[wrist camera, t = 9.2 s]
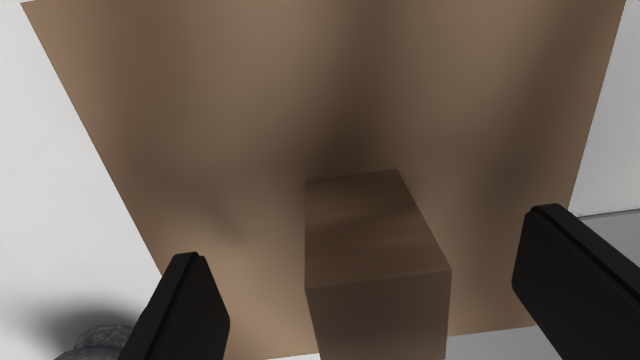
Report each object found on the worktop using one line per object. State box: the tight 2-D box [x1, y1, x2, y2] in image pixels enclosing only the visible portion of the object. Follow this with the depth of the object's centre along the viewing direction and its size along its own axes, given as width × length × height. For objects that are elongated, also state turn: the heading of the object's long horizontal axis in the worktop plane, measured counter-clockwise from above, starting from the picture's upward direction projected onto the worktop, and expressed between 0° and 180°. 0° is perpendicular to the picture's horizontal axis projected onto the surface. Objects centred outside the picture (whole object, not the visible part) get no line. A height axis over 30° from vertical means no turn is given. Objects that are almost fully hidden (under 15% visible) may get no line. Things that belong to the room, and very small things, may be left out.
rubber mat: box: [444, 210, 640, 360], centre depth 26 cm, size 18×18×1 cm
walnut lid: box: [20, 0, 626, 360], centre depth 10 cm, size 16×16×6 cm
